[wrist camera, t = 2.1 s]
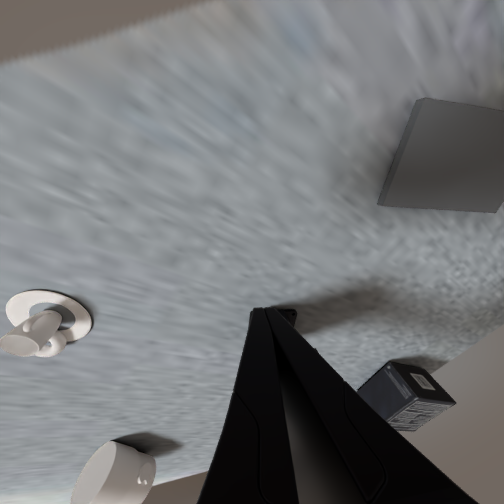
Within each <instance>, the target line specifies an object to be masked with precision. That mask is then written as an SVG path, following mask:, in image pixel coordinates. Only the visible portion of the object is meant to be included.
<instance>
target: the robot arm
mask: <svg viewBox="0 0 504 504" xmlns="http://www.w3.org/2000/svg"><path fill="white" fill-rule="evenodd" d="M296 316H297V312H296V310H295V309H287V310H276V309H275V308H274V307H265V308H262V307H260V308H254V309H253V311H251V312H250V318H249V327H248V332H247V336H246V340H245V344H244V348H243V352H242V356H241V360H240V364H239V368H238V372H237V377H236V381H235V385H234V389H233V393H232V396H231V400H230V404H229V408H228V412H227V415H226V419H225V423H224V426H223V430H222V433H221V436H220V439H219V442H218V445H217V448H216V451H215V454H214V457H213V460H212V462H211V465H210V468H209V471H208V473H207V476H206V479H205V482H204V484H203V487H202V490H201V493H200V495H199V498H198V501H197V504H479V503H478V502H476V501H475V500H474V499H473V498H472V497H470V496H469V495H468V494H467V493H466V492H464V491H463V490H462V489H461V488H460V487H459V486H458V485H456V484H455V483H454V482H453V481H452V480H451V479H449V477H447V476H446V475H445V474H444V473H443V472H442V471H441V470H440V469H439V468H437V467H436V466H435V465H434V464H433V463H432V462H431V461H430V460H429V459H427V458H426V457H425V456H424V455H423V454H422V453H421V452H420V451H419V450H417V449H416V448H415V447H414V446H413V445H412V444H411V443H409V441H407V440H406V439H405V438H404V437H403V436H402V435H401V434H400V433H399V432H397V431H396V430H395V429H394V428H393V427H392V426H391V425H390V424H389V423H388V422H387V421H386V420H384V419H383V418H382V417H381V416H380V415H379V414H378V413H377V412H376V411H375V410H374V409H373V408H372V407H371V406H370V405H369V404H368V403H367V402H366V401H365V400H364V399H363V398H362V397H361V396H360V395H359V394H358V393H357V392H356V391H355V390H354V389H353V388H352V387H351V386H350V385H349V384H348V383H347V382H346V381H344V380H343V378H342V377H341V376H340V375H339V374H338V373H337V372H336V371H335V370H334V369H333V368H332V367H331V366H330V365H329V364H328V363H327V362H326V361H325V360H324V358H323V357H322V356H321V355H320V354H319V353H318V351H317V350H316V348H313V347H312V346H311V345H310V344H309V343H308V342H307V341H306V340H305V339H304V338H303V337H302V336H301V335H300V334H299V333H298V332H297V331H296V330H295V329H294V324H295V320H296Z"/></svg>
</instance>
